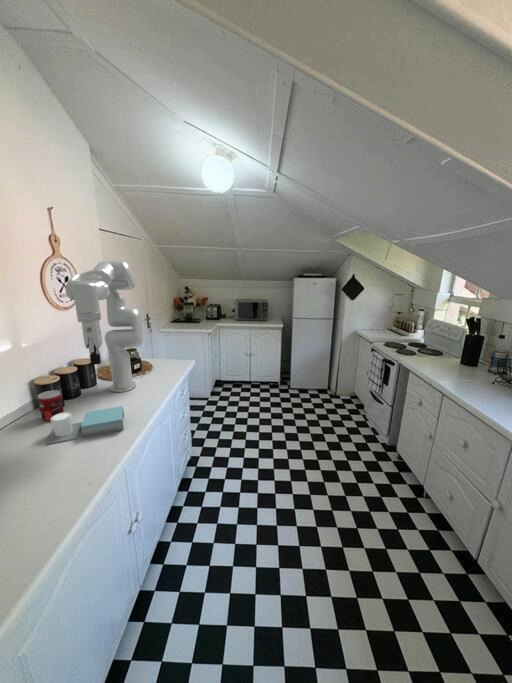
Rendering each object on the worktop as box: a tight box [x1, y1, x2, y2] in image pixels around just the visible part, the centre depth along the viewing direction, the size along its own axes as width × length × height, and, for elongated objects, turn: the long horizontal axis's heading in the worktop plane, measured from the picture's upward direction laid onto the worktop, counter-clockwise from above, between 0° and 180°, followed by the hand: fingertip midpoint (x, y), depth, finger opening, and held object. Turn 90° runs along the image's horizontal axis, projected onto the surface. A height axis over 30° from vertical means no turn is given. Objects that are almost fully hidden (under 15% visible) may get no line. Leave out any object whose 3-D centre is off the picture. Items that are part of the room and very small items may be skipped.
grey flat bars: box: [81, 409, 125, 439], centre depth 116 cm, size 12×14×4 cm
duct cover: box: [80, 405, 124, 430], centre depth 115 cm, size 12×14×1 cm
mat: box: [45, 421, 83, 446], centre depth 111 cm, size 12×10×1 cm
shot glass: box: [50, 411, 73, 436], centre depth 110 cm, size 7×7×7 cm
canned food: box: [37, 389, 65, 422], centre depth 121 cm, size 8×8×11 cm
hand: (96, 363), depth 109 cm, fingers closed
